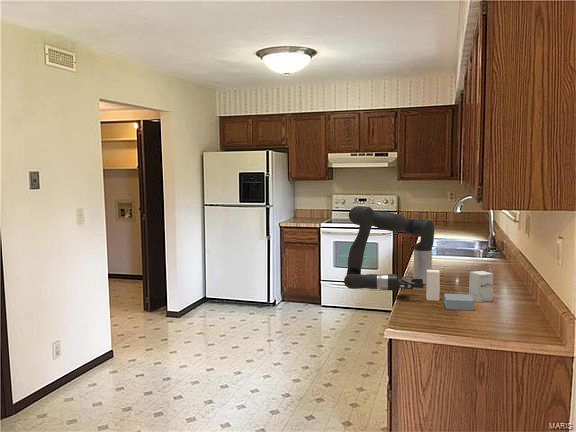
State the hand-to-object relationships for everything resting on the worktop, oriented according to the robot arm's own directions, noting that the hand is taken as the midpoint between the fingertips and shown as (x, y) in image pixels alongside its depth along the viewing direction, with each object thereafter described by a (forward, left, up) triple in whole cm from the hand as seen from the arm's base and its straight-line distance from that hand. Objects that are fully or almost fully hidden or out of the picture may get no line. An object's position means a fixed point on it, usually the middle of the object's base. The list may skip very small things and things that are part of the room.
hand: (423, 283), depth 223 cm
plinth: (+11, +14, -7) cm, 19 cm away
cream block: (0, +4, -7) cm, 8 cm away
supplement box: (-2, +25, -7) cm, 26 cm away
